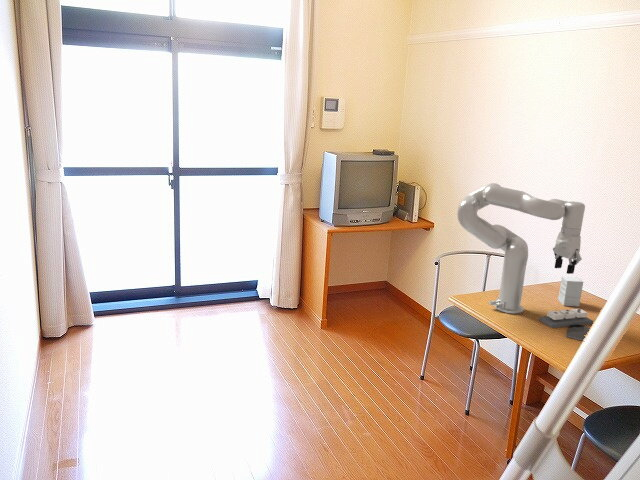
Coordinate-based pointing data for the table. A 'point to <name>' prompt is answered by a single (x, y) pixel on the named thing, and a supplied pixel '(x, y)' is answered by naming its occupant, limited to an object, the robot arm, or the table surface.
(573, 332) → the smartphone
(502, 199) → the robot arm
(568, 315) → the tile two
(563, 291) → the supplement box
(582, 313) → the tile three
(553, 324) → the button board
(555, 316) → the tile one
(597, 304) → the table surface
